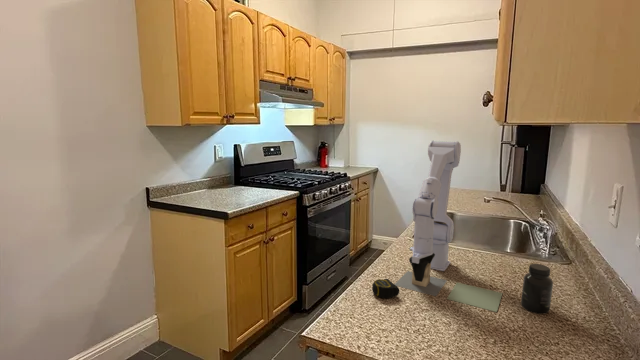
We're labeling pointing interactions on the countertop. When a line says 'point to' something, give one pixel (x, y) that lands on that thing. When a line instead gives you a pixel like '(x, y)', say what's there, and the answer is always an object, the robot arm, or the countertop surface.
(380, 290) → the tape measure
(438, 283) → the tile
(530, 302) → the supplement bottle
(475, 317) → the countertop surface
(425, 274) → the birch block
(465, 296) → the olive mat
